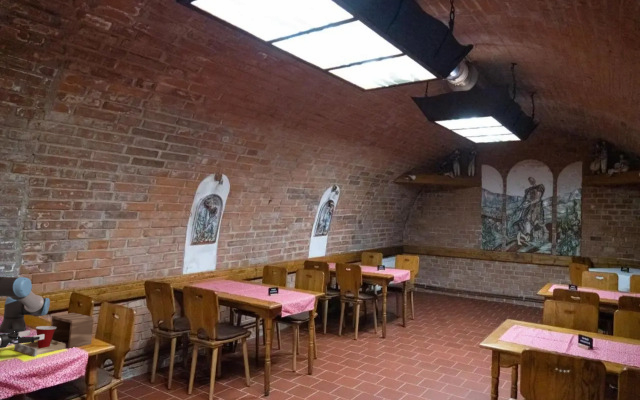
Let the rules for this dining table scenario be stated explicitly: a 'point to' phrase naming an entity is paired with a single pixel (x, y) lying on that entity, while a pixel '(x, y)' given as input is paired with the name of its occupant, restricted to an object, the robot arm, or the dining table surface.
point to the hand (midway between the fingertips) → (36, 334)
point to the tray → (34, 350)
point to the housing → (73, 329)
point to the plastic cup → (48, 335)
